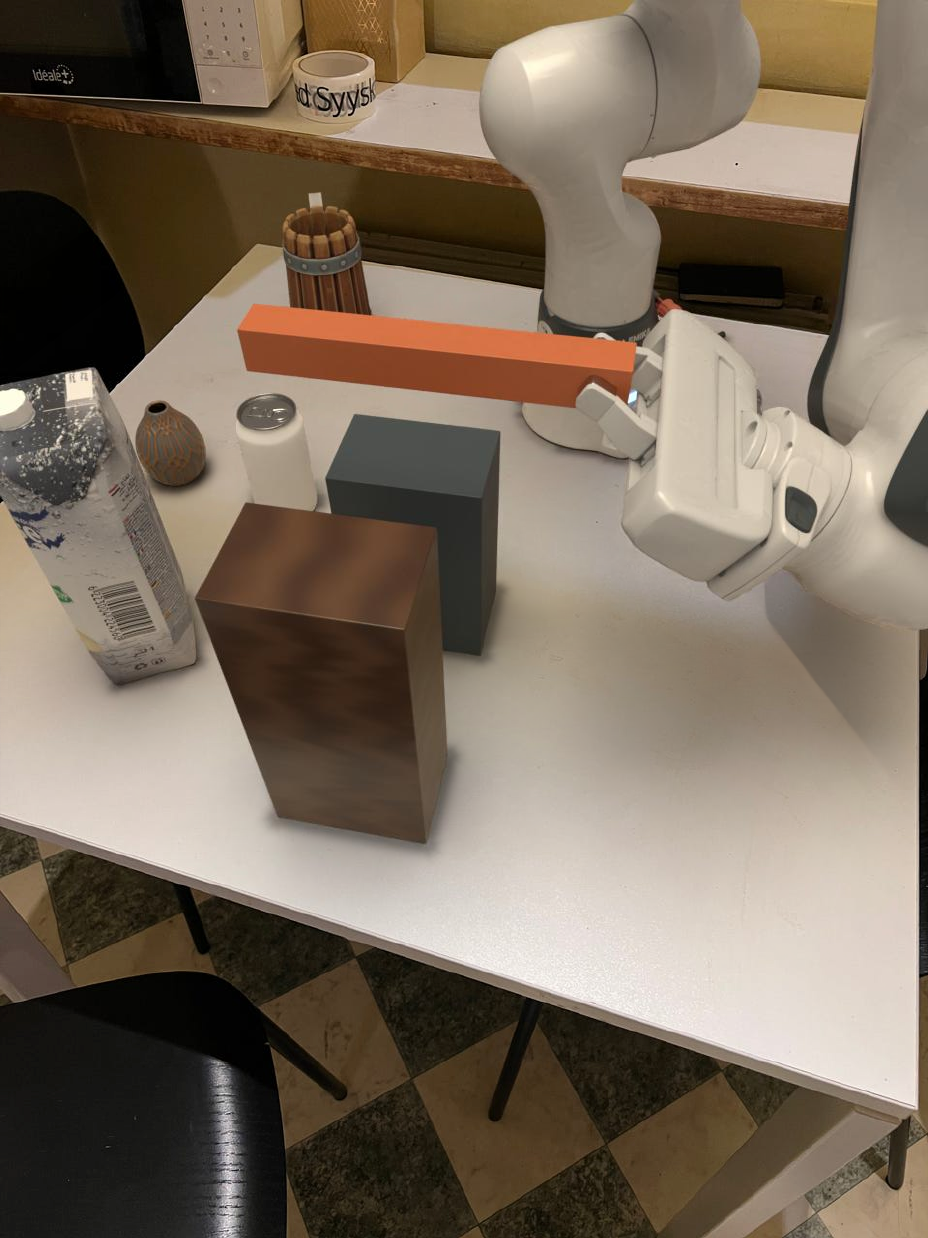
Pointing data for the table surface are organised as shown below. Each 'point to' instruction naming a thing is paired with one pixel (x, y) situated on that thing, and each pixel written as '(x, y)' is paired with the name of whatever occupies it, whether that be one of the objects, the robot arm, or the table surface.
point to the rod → (431, 355)
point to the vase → (169, 445)
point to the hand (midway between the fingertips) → (586, 367)
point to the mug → (324, 260)
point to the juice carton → (94, 523)
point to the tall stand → (335, 664)
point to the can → (276, 452)
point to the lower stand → (430, 505)
